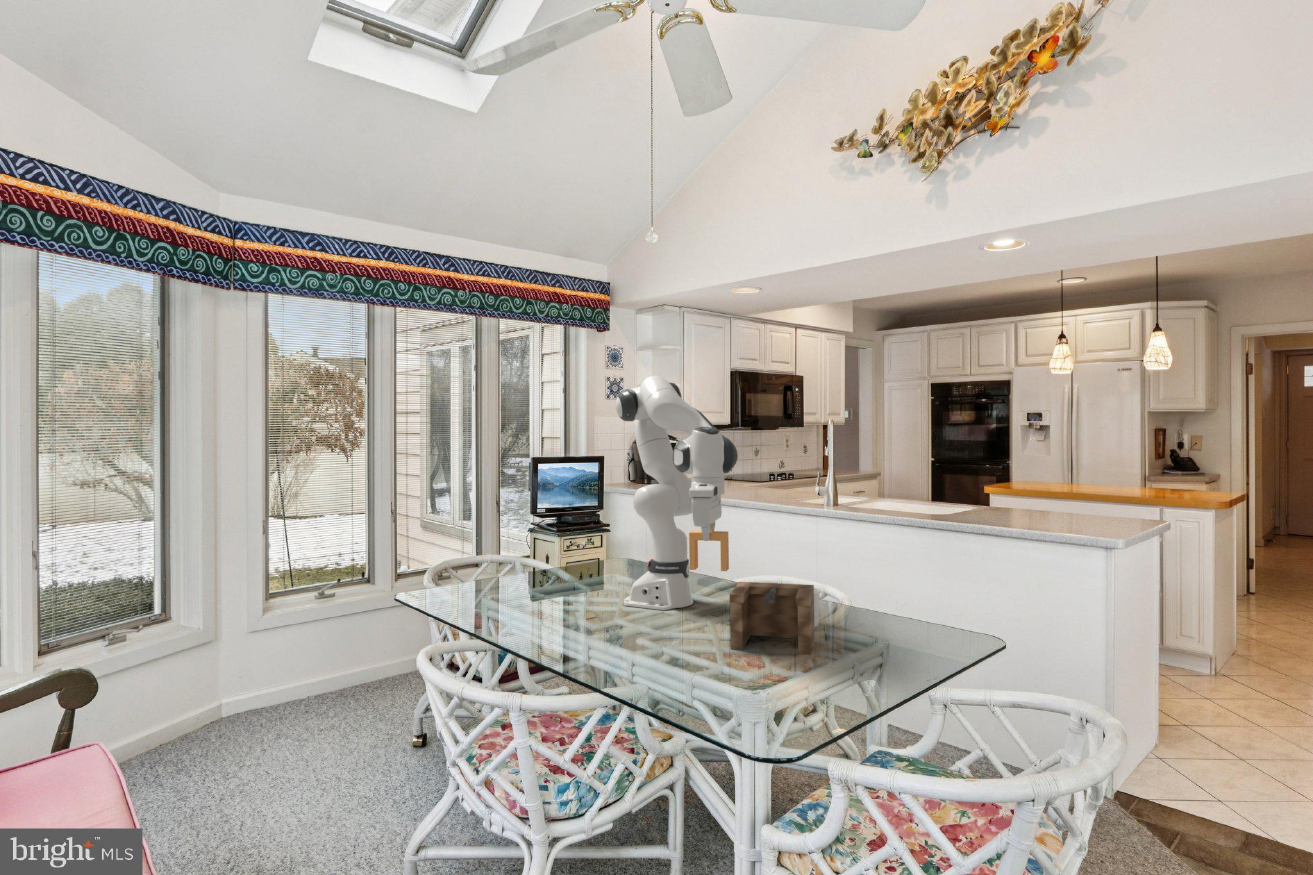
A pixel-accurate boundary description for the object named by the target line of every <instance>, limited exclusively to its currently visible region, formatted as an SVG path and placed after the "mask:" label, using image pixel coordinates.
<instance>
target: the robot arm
mask: <svg viewBox="0 0 1313 875" xmlns="http://www.w3.org/2000/svg"><path fill="white" fill-rule="evenodd" d="M615 410H616V413H617V414H618V417H619V418H620V420H622V421H623V422H634V424H633V428H634V436H635V437H634V438H635V442H636V444H635V445H636V448H637V452H638V454H639V458H640V463H641V466H642V469H643V471H644V473H645V474H647V475H648V476H650V477H651V478H653V479H654V480H656V481H657V483H652V484H651V483H650V484H649V485H645V486H643V487H639V488H638V489H637V490H636V491H635V493H634V495H633V499H632V500H633V502H632V503H633V504H632V505H633V508H634V510H635V512H636V514H637V515H638V516H639V517H640V518H642V519H643V520H644V521H645V523H646V525H648V528H649V529H650V530H649V531H650V533H651V539H652V553H653V554H652V555H653V557H651V558H650V559H649V561H648V562H647V563H646V567H647V571H646V572H645V573H643V575H641V576H640V577H639V578H638V579H636V580H635V581H634V582H633V584H632V585H631V589H630V594H629V596H626V598H624V599H623V605H624V606H626V607H634V608H643V609H650V610H651V609H652V610H661V611H669V610H672V609H677V608H679V609H680V608H685V607H688V606H691V605H693V604H694V600H693V597H692V593H691V588H690V580H689V577H690V559H689V558H688V537H687V535H686V532H684V531H683V530H681V529H680V528H678V527H677V525H676V523H675V517H682V516H688V515H691V514H692V521H693V525H694V526H695V527H698V528H699V527H700V529H701V530H700V531H702V534H703V540H702V541H704V542H708V541H709V540H710V531H715V529H716V521H717V520H719V519H720V518H722V510H723V509H722V496H721V495H724V494H725V474H728V473H729V472H731V470H732V469H733V468H734V467H735V466H736V464H737V462H738V458H739V456H738V455H739V454H738V450H737V447H736V446H735V444H734V442H732V440H731V439H729V438H728V437H727V436H724V435H723V434H722V432H721V430H719V429H718V428H716V426H715V425H713V424H712V421H710V420H709V419H708V418H707V417H706V416H705V415H704V414H703V413H702V412H701V411H700V410H698V409H697V408H696V407H694V406H692V405H690V404H689V403H688V402H687V401H685V400H684V399H683V397H682V394H681V390H680V388H679V386H678V385H677V384H676V383H673V382H669V381H667V379H665V377H663V376H660V375H650V376H648V377H647V378H645V379H644V380H643V381H642V383H641V384H640V386H637V387H633V388H626V389H623V390H621V391H619V392H618V394H617V395H616V397H615ZM667 430H672V431H680V432H685V433H688V434H691V435H689V436H688V437H687V438H685V439H682V440H679V441H678V442H677V443H676V444H675V446H674V447H672V444H671V441H670V437H669V434H668V432H667ZM686 474H689V475H690V474H691V478H690V477H688V476H687V475H686ZM709 542H710V541H709Z"/></svg>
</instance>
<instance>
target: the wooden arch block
mask: <svg viewBox="0 0 1313 875" xmlns="http://www.w3.org/2000/svg"><path fill="white" fill-rule="evenodd" d="M688 536H689V537H688V543H689V544H688V545H689V546H688V550H689V552H688V553H689V554H688V555H689V556H688V559H689V571H690V570H691V571H696V570H697V569H698V568H699V542H698V541H704V540H703V534H702V530H690V531H689V533H688ZM710 541H711V542H712V541H714V542H720V572H727V571H728V570H730V561H729V560H730V559H729V554H730V553H729V549H730V548H729V545H730V544H729V542H730V541H729V531H724V530H723V531H721V530H719V531H718V530H717V531H716V530H714V531H710V540H709V542H710Z"/></svg>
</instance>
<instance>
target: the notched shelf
mask: <svg viewBox="0 0 1313 875" xmlns="http://www.w3.org/2000/svg"><path fill="white" fill-rule="evenodd" d="M814 588H815V585H814V584H803V583H802V584H800V583H777V582H754V581H753V582H752V581H739V582H738V583H737V585H736V586H735V587H734V588H733V590H732V591H731V592H730V593H729V621H730V623H729V625H730V649H731V650H741V651H743V650H744V648H745V645H746V644H747V642H748V640H749V638H750V636H758V637H773V638H774V637H775V638H786V639H787V638H789V639H791V638H792V639H798V646H797V647H798V650H797V651H798V655H809V656H811V655H812V650H813V645H814V643H815V628H814Z"/></svg>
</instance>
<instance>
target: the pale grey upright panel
mask: <svg viewBox="0 0 1313 875" xmlns="http://www.w3.org/2000/svg"><path fill="white" fill-rule="evenodd" d="M820 592H821V590H820V589H818V588H815V587H814V629H815V628H817V627H818V626H819V617H820V601H821V600H820V599H821V598H820V597H821V596H820V595H821V593H820Z"/></svg>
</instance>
